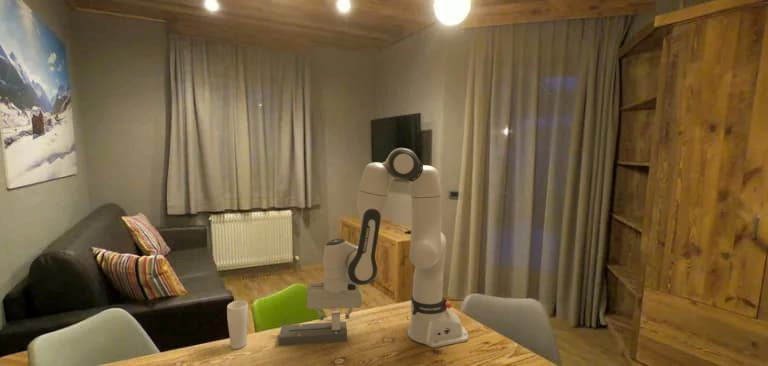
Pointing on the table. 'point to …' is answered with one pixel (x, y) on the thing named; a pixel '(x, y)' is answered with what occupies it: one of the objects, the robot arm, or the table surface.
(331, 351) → the table surface
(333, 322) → the fader tab
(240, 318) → the drinking glass
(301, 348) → the table surface
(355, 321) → the table surface
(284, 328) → the console
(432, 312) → the robot arm
